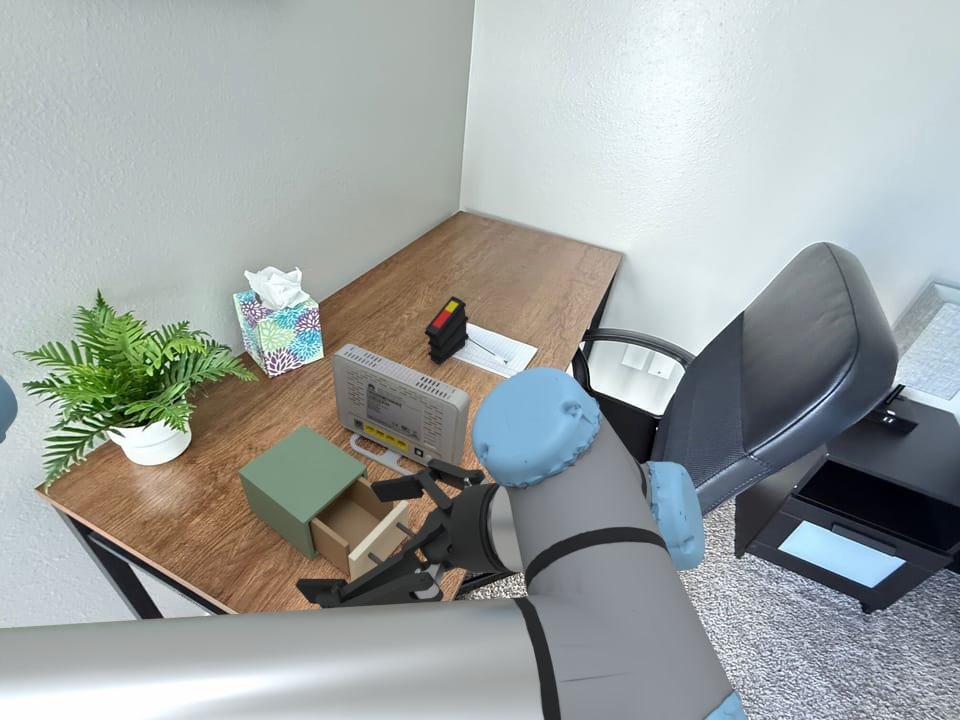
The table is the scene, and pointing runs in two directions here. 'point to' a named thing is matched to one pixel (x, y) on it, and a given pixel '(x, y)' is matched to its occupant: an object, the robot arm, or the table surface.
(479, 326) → the table surface
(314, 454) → the cabinet
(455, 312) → the black electronic module
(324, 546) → the drawer
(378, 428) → the network device
